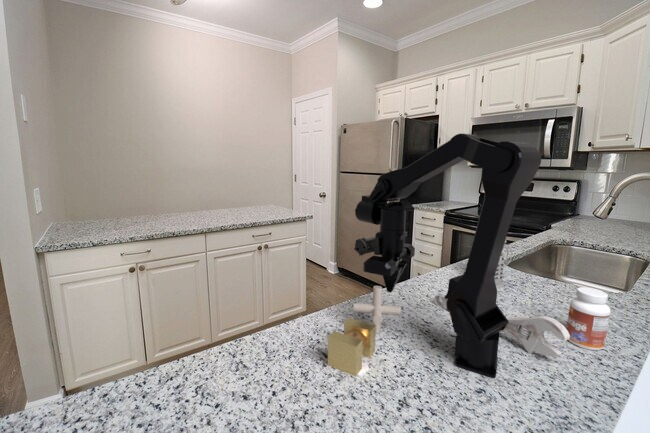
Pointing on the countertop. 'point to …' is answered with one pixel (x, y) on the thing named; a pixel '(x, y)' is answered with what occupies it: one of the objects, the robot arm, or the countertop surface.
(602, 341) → the pill bottle
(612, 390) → the countertop surface
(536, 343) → the wrench
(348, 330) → the square-ended brass dumbbell
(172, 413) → the countertop surface
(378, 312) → the pipe connector
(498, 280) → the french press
